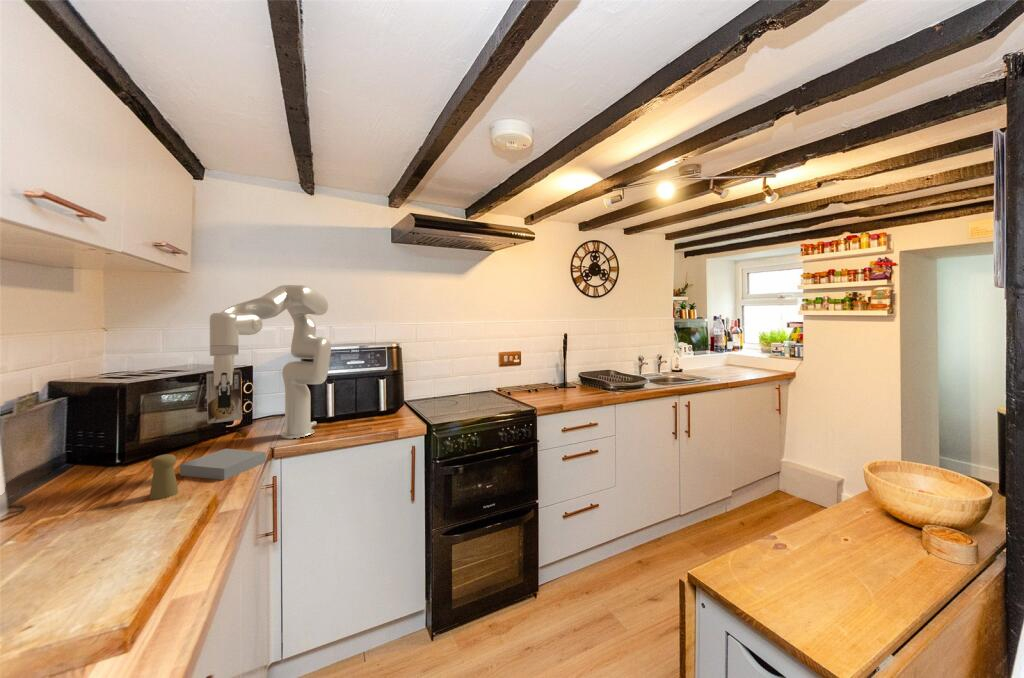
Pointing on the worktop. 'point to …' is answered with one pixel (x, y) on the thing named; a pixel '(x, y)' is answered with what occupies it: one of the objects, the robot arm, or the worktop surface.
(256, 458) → the podium
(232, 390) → the coffee box
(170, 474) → the olive pepper mill
